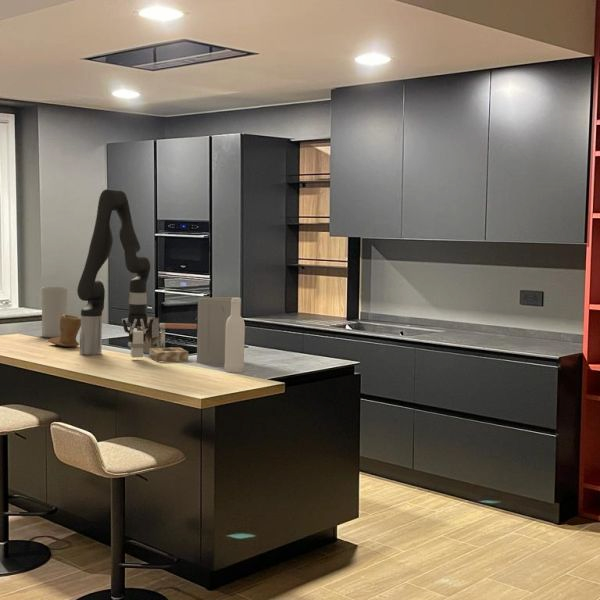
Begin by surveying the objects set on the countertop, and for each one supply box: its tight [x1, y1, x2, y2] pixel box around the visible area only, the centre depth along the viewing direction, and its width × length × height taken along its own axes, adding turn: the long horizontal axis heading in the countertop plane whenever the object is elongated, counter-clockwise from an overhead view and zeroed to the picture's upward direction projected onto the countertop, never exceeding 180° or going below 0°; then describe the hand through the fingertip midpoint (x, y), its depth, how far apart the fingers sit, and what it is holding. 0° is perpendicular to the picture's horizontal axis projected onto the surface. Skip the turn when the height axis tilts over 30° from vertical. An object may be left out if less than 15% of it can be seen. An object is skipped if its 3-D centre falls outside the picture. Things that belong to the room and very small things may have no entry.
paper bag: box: [196, 296, 242, 367], centre depth 368 cm, size 19×15×28 cm
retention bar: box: [160, 322, 198, 330], centre depth 386 cm, size 3×16×2 cm, turn 93°
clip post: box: [160, 328, 166, 348], centre depth 386 cm, size 5×5×12 cm
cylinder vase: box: [41, 286, 68, 339], centre depth 439 cm, size 12×12×25 cm
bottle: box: [224, 297, 246, 374], centre depth 349 cm, size 8×8×30 cm
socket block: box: [148, 347, 189, 363], centre depth 376 cm, size 14×14×4 cm
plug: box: [127, 330, 146, 358], centre depth 370 cm, size 7×7×11 cm
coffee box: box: [136, 316, 161, 354], centre depth 395 cm, size 9×6×16 cm
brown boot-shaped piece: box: [47, 314, 81, 348], centre depth 406 cm, size 15×12×15 cm
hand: (137, 342), depth 370 cm, fingers closed on plug, 4 cm apart
